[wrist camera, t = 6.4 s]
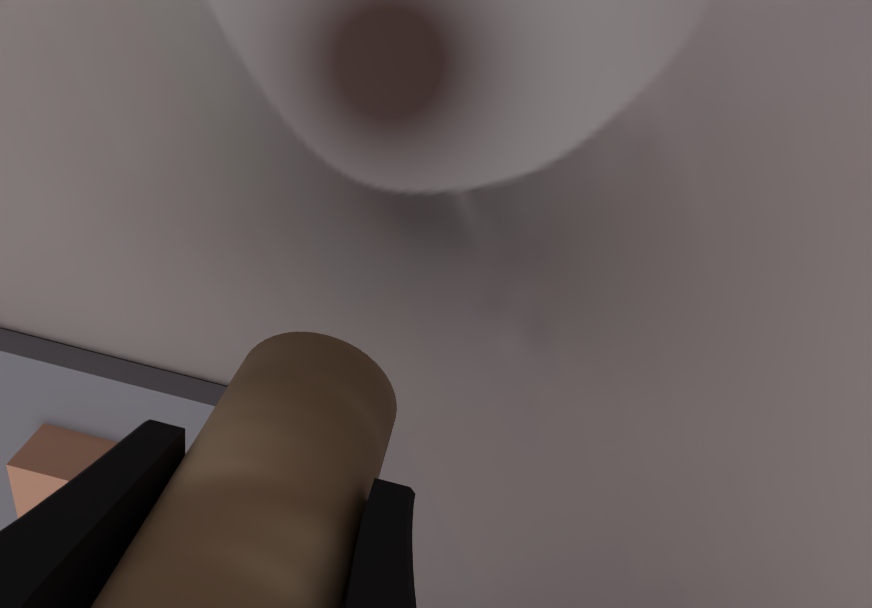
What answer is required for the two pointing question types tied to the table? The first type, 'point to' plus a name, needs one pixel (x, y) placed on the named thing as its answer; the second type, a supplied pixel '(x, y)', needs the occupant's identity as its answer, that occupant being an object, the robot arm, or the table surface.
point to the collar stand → (79, 413)
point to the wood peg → (267, 486)
